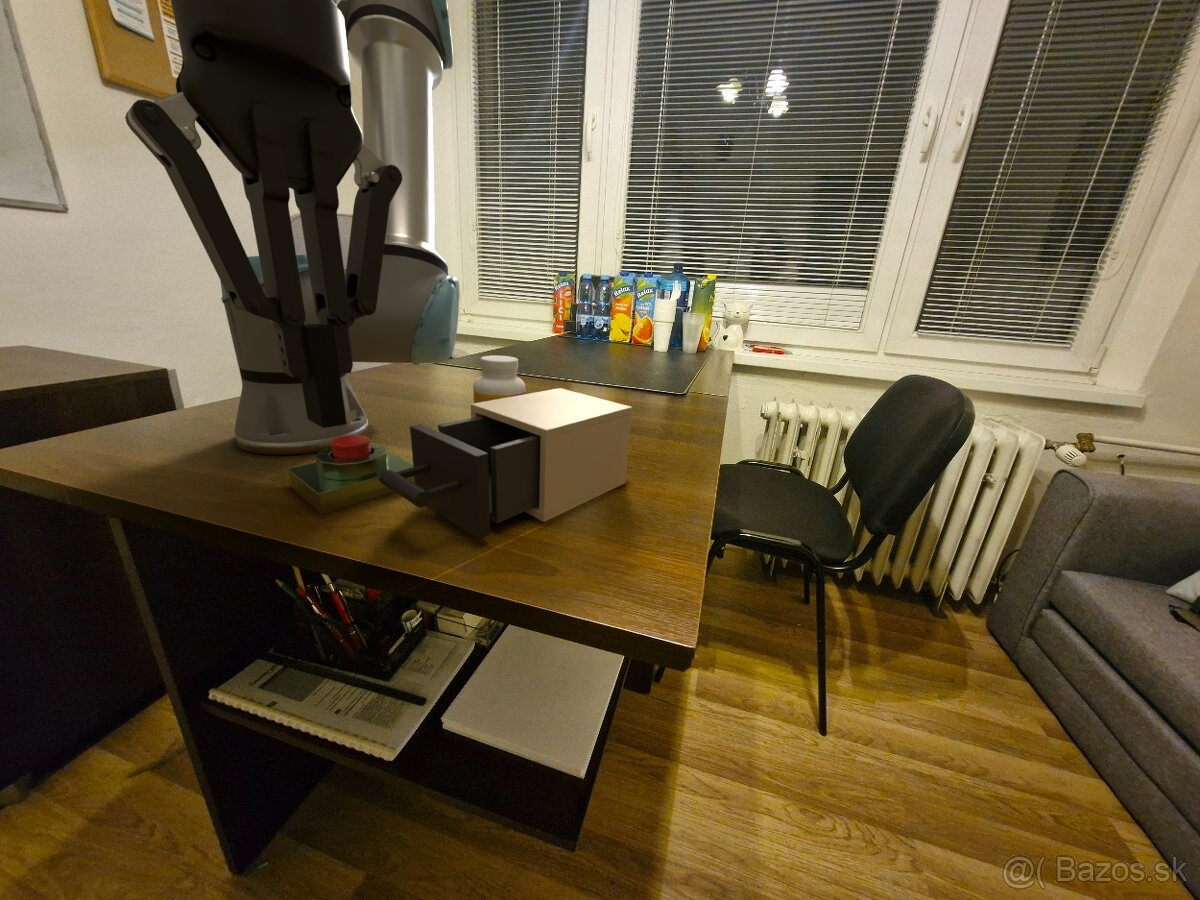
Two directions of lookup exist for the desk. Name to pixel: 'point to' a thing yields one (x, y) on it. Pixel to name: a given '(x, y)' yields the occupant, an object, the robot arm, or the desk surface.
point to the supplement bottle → (498, 379)
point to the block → (345, 478)
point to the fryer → (569, 444)
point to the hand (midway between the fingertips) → (327, 421)
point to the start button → (351, 447)
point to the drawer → (471, 472)
